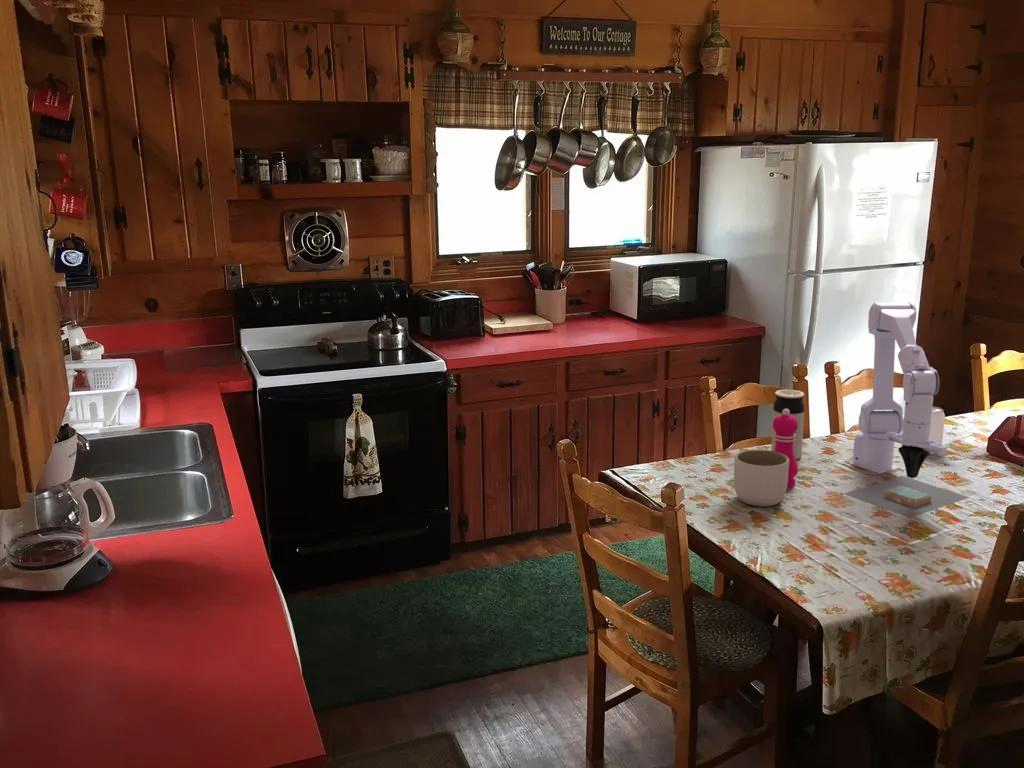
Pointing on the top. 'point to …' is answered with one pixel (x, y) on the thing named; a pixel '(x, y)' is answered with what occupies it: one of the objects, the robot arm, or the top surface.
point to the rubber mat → (877, 497)
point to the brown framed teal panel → (908, 496)
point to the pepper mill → (786, 441)
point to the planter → (760, 477)
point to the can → (937, 425)
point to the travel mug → (796, 408)
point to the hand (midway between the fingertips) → (912, 476)
